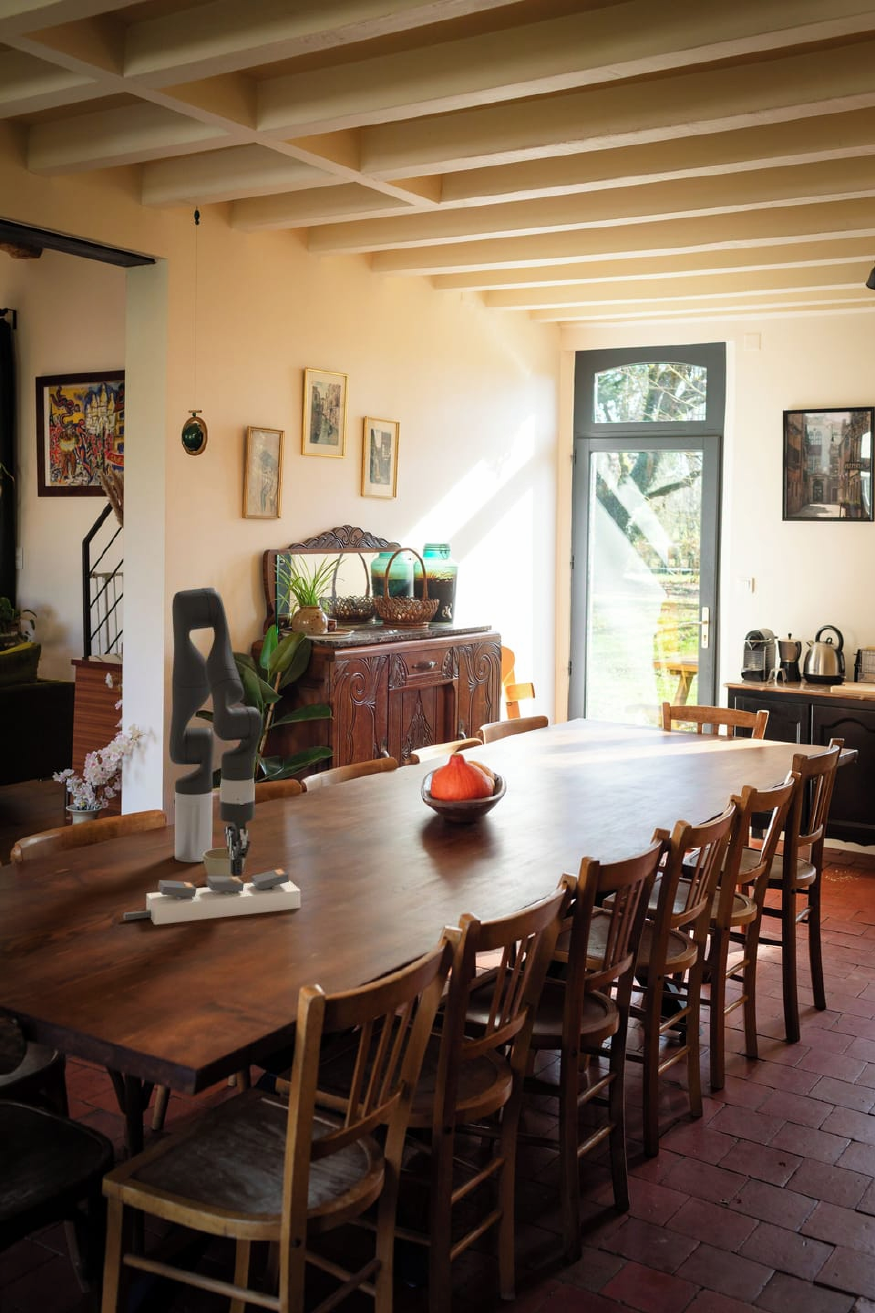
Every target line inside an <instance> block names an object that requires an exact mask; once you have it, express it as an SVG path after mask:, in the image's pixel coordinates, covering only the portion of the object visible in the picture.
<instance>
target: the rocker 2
mask: <svg viewBox="0 0 875 1313" xmlns="http://www.w3.org/2000/svg"><path fill="white" fill-rule="evenodd" d="M244 884H245V883H244V882H243V881H242V880H241V878H240V877H226V876H209V875H206V881H205V885H206V886H207V887H209V888H210V889H211V891H243V887H244Z"/></svg>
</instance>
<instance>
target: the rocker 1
mask: <svg viewBox="0 0 875 1313" xmlns="http://www.w3.org/2000/svg"><path fill="white" fill-rule="evenodd" d="M157 885H158V886H157V889H158V892H161V893H162V895H171V896H186V897H195V894H196V888H197V887H196V886H195V885H194V884H193V883H192V881H179V880H164V879H163V880H162V879H159V880H158V884H157Z"/></svg>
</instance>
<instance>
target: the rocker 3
mask: <svg viewBox="0 0 875 1313" xmlns="http://www.w3.org/2000/svg"><path fill="white" fill-rule="evenodd" d="M289 880H290V879H289V874H288V872H287V871H285V870H284V869H283V868H282V867H280V868H276V869H272V870H269V871H265V872H261V873H258V874H255V875H251V883H253V885H254V886H255V887H256V888H257V889H258V890H262V889H265V888H269V887H272V886H276V885H279V884H283V883H287V882H289Z"/></svg>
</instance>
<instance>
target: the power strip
mask: <svg viewBox="0 0 875 1313" xmlns="http://www.w3.org/2000/svg"><path fill="white" fill-rule="evenodd" d="M195 888H196V894H195V897H186V896H171V895H162V893H161V892H160V891H158V892H149V893H146V897H145V898H146V900H145V901H146V910H138V911H137V910H136V911H128V912H123V919H124V921H128V920H135V919H136V920H137V919H138V920H139V919H145V918H150V920H151V921H152V922H153V924H154V925H155V926H156V925H165V924H172V923H173V924H174V923H181V922H182V923H183V922H189V921H199V920H207V919H217V918H223V917H225V918H226V917H232V916H233V917H235V916H240V915H241V916H243V915H251V914H258V913H259V914H260V913H268V912H278V911H279V912H280V911H286V910H294V909H301V892H302V891H301V889H299V887H298V886H296V884H295V883H293V882H292V881H291V880H290V879H289V882H287V883H283V884H279V885H276V886H272V887H269V888H265V889H262V890H258V889H257V888H256V887H255V886H254V885H253V883H252V882H246V883H244V887H243V891H211V889H210V888H209V887H208V886H207V887H198V888H197V887H195Z"/></svg>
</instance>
